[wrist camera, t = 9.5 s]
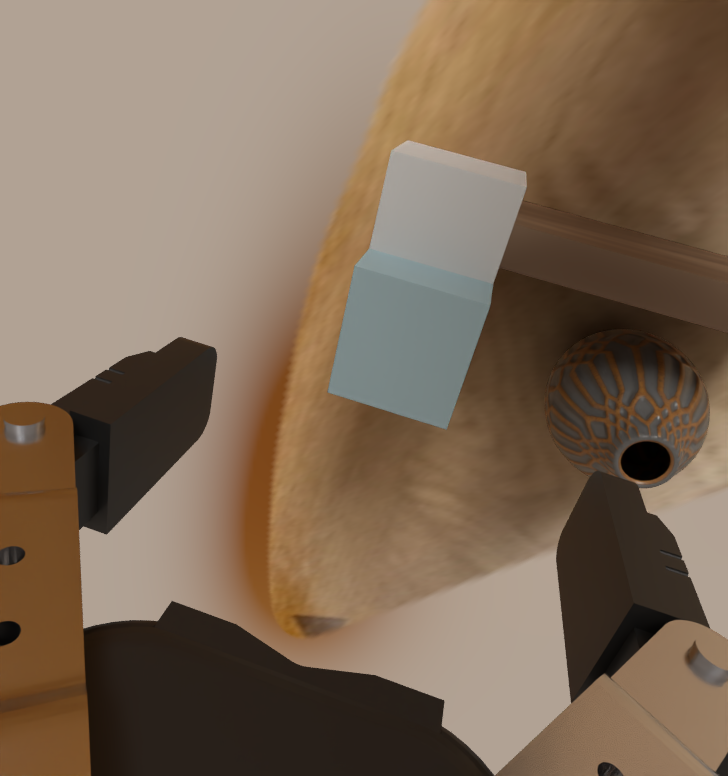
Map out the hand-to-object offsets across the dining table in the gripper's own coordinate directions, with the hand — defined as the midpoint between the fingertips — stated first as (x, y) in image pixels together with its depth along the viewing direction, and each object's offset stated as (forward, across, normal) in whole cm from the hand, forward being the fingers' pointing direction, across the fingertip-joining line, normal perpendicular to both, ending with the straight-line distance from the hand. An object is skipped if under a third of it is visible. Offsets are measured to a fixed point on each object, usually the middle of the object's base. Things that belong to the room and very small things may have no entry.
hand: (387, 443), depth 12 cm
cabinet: (+16, +1, 0) cm, 16 cm away
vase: (+20, -9, +4) cm, 22 cm away
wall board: (+20, -6, -2) cm, 21 cm away
